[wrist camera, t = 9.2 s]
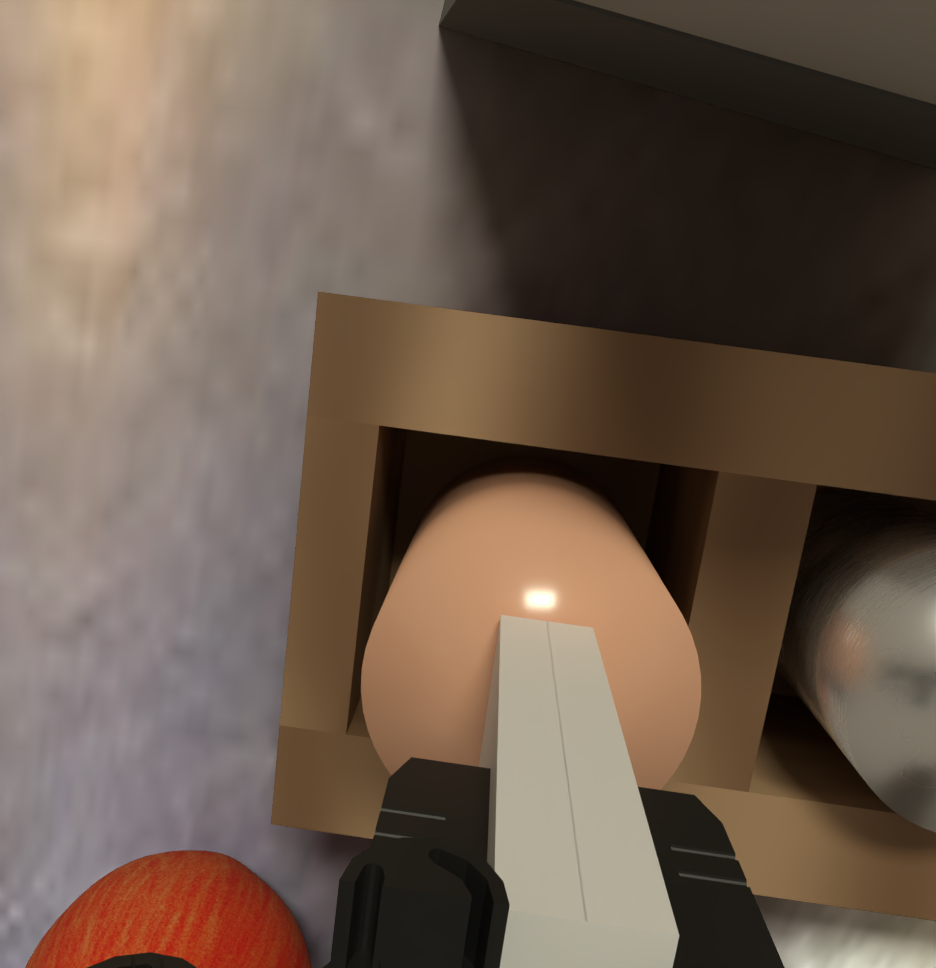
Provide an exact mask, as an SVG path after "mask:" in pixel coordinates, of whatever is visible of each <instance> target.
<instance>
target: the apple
mask: <svg viewBox="0 0 936 968" xmlns="http://www.w3.org/2000/svg"><path fill="white" fill-rule="evenodd" d="M148 952H152V953H158V954H163V955H169V956H174V957H179V958H183V959H184V960H186V961H188V962H189V963H191V964H192V965H194V966H195V967H197V968H311V963H310V959H309V954H308V950H307V947H306V944H305V941H304V938H303V935H302V932H301V930H300V928H299V926H298V924H297V922H296V920H295V918H294V917H293V915H292V913H291V912H290V910H289V909H288V907H287V906H286V905H285V903H284V902H283V901H282V899H281V898H280V897H279V896H278V895H277V894H276V893H275V892H274V891H273V890H272V889H271V888H270V887H269V886H268V885H267V884H266V883H265V882H264V881H263V880H262V879H260V878H259V877H258V876H257V875H255V874H254V873H253V872H252V871H250V870H249V869H248V868H247V867H246V866H244V865H243V864H241V863H240V862H239V861H237V860H235V859H233V858H231V857H229V856H227V855H224V854H220V853H216V852H209V851H195V850H190V851H172V852H165V853H159V854H154V855H149V856H146V857H143V858H139V859H137V860H134V861H131V862H129V863H127V864H125V865H123V866H121V867H119V868H117V869H115V870H114V871H112V872H110V873H109V874H107V875H106V876H104V877H103V878H101V879H100V880H98V881H97V882H96V883H95V884H93V885H92V886H91V887H90V888H89V889H87V890H86V891H85V892H84V893H83V894H82V895H81V896H80V897H79V898H77V899H76V900H75V901H74V902H73V903H72V904H71V905H70V906H69V908H68V909H67V910H66V911H65V912H64V913H63V914H62V915H61V916H60V917H59V918H58V919H57V921H56V922H55V923H54V924H53V926H52V927H51V928H50V929H49V930H48V932H47V933H46V934H45V936H44V937H43V938H42V940H41V941H40V943H39V944H38V946H37V948H36V949H35V951H34V953H33V954H32V956H31V958H30V959H29V961H28V963H27V965H26V968H87V967H90V966H92V965H95V964H97V963H100V962H102V961H105V960H107V959H110V958H112V957H115V956H122V955H131V954H139V953H148Z"/></svg>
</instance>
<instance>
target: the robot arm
mask: <svg viewBox="0 0 936 968" xmlns="http://www.w3.org/2000/svg"><path fill="white" fill-rule="evenodd" d="M735 856H736V854H735V851H734V849H733V847H732V844H731V842H730V840H729V837H728V835H727V833H726V830H725V828H724V826H723V823H722V822H721V821H720V820H719V819H718V818H717V817H716V816H715V815H714V814H713V813H712V812H711V811H710V810H709V809H708V808H707V807H706V806H705V805H704V804H703V803H702V802H701V801H700V800H699V799H698V798H697V797H696V796H695V795H692V794H685V793H678V792H671V791H664V790H657V789H650V788H643V787H638V786H637V783H636V779H635V776H634V772H633V768H632V765H631V761H630V758H629V754H628V750H627V747H626V743H625V740H624V736H623V733H622V729H621V725H620V722H619V718H618V715H617V711H616V708H615V704H614V700H613V697H612V693H611V690H610V686H609V683H608V679H607V675H606V672H605V668H604V665H603V661H602V658H601V654H600V650H599V647H598V643H597V640H596V636H595V633H594V629H593V628H592V627H585V626H578V625H571V624H564V623H557V622H550V621H542V620H535V619H528V618H521V617H514V616H507V615H501V616H500V623H499V630H498V637H497V644H496V650H495V657H494V664H493V671H492V678H491V685H490V692H489V699H488V705H487V712H486V719H485V726H484V733H483V740H482V747H481V753H480V760H479V767H477V766H470V765H463V764H456V763H449V762H442V761H435V760H428V759H421V758H414V757H411V758H410V759H409V760H408V761H407V762H406V763H404V764H403V765H402V766H401V767H400V768H399V769H398V770H397V771H396V772H395V773H394V774H393V775H392V776H390V777H389V779H388V783H387V787H386V791H385V795H384V798H383V802H382V806H381V811H380V814H379V818H378V821H377V825H376V829H375V835H374V837H373V841H372V844H371V847H370V848H368V849H367V850H365V851H364V852H362V853H361V854H359V855H358V856H356V857H355V858H353V859H352V860H351V862H350V863H349V865H348V867H347V868H346V870H345V872H344V873H343V875H342V877H341V878H340V880H339V889H338V898H337V907H336V916H335V926H334V935H333V944H332V953H331V961H330V962H329V963H328V964H327V965H326V966H324V967H323V968H784V966H783V963H782V961H781V959H780V956H779V954H778V952H777V949H776V947H775V945H774V942H773V940H772V938H771V935H770V933H769V931H768V928H767V926H766V924H765V921H764V919H763V917H762V914H761V912H760V910H759V907H758V905H757V903H756V900H755V898H754V896H753V893H752V891H751V889H750V887H747V879H746V877H745V875H744V872H743V870H742V868H741V865H740V863H739V861H738V860H736V859H735ZM87 968H197V967H195V966H194V965H192V964H191V963H189V962H188V961H186V960H184V959H183V958H179V957H174V956H169V955H163V954H158V953H152V952H148V953H139V954H131V955H122V956H115V957H112V958H110V959H107V960H105V961H102V962H100V963H97V964H95V965H92V966H90V967H87Z"/></svg>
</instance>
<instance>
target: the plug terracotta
mask: <svg viewBox="0 0 936 968" xmlns="http://www.w3.org/2000/svg"><path fill="white" fill-rule="evenodd" d="M501 615H507V616H514V617H521V618H528V619H535V620H542V621H550V622H557V623H564V624H571V625H578V626H585V627H592V628H593V629H594V633H595V636H596V640H597V643H598V647H599V650H600V654H601V658H602V661H603V665H604V668H605V672H606V675H607V679H608V683H609V686H610V690H611V693H612V697H613V700H614V704H615V708H616V711H617V715H618V718H619V722H620V725H621V729H622V733H623V736H624V740H625V743H626V747H627V750H628V754H629V758H630V761H631V765H632V768H633V772H634V776H635V779H636V783H637V786H638V787H643V788H650V789H657V790H661V789H662V788H663V786H664V785H665V784H666V783H667V782H668V780H669V779H670V778H671V777H672V775H673V774H674V773H675V771H676V769H677V768H678V766H679V764H680V763H681V761H682V760H683V758H684V756H685V754H686V752H687V750H688V747H689V745H690V743H691V740H692V738H693V735H694V732H695V728H696V724H697V721H698V717H699V710H700V702H701V672H700V666H699V659H698V654H697V650H696V647H695V644H694V641H693V637H692V634H691V632H690V630H689V628H688V626H687V624H686V621H685V619H684V617H683V615H682V613H681V612H680V610H679V608H678V607H677V605H676V603H675V602H674V600H673V598H672V597H671V595H670V593H669V592H668V590H667V588H666V587H665V585H664V583H663V582H662V580H661V579H660V577H659V575H658V574H657V572H656V570H655V569H654V567H653V565H652V564H651V562H650V560H649V559H648V557H647V555H646V554H645V552H644V550H643V549H642V547H641V545H640V544H639V542H638V540H637V539H636V537H635V535H634V534H633V532H632V530H631V529H630V527H629V526H628V524H627V522H626V521H625V519H624V517H623V516H622V514H621V512H620V511H619V509H618V508H617V506H616V505H615V503H614V502H613V500H612V499H611V498H610V497H609V496H608V494H607V493H606V492H605V491H604V490H603V489H602V488H601V487H600V486H599V485H598V484H596V483H595V482H594V481H593V480H592V479H590V478H589V477H587V476H586V475H584V474H583V473H581V472H580V471H578V470H576V469H574V468H572V467H570V466H568V465H565V464H563V463H560V462H557V461H554V460H550V459H545V458H540V457H530V456H514V457H504V458H499V459H494V460H490V461H487V462H484V463H481V464H478V465H476V466H474V467H472V468H470V469H468V470H466V471H464V472H463V473H461V474H460V475H458V476H457V477H455V478H453V479H452V480H451V481H450V482H449V483H448V484H446V485H445V486H444V487H443V488H442V489H441V490H440V491H439V492H438V493H437V494H436V496H435V497H434V498H433V499H432V500H431V502H430V503H429V505H428V506H427V508H426V509H425V511H424V513H423V515H422V517H421V519H420V521H419V523H418V525H417V527H416V529H415V532H414V534H413V536H412V539H411V541H410V543H409V545H408V548H407V550H406V552H405V555H404V557H403V559H402V562H401V564H400V566H399V568H398V571H397V573H396V575H395V578H394V580H393V582H392V584H391V587H390V589H389V591H388V594H387V596H386V598H385V600H384V603H383V605H382V607H381V610H380V612H379V614H378V617H377V619H376V621H375V623H374V626H373V628H372V631H371V634H370V637H369V640H368V643H367V646H366V649H365V654H364V659H363V665H362V673H361V696H362V706H363V713H364V717H365V721H366V725H367V729H368V732H369V735H370V737H371V740H372V742H373V745H374V747H375V750H376V751H377V753H378V755H379V757H380V759H381V760H382V762H383V764H384V766H385V767H386V769H387V770H388V771H389V773H390V774H391V775H393V774H394V773H395V772H396V771H397V770H398V769H399V768H400V767H401V766H402V765H403V764H404V763H406V762H407V761H408V760H409V759H410V758H411V757H414V758H421V759H428V760H435V761H442V762H449V763H456V764H463V765H470V766H477V767H479V760H480V753H481V747H482V740H483V733H484V726H485V719H486V712H487V705H488V699H489V692H490V685H491V678H492V671H493V664H494V657H495V650H496V644H497V637H498V630H499V623H500V616H501Z"/></svg>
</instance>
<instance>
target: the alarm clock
mask: <svg viewBox="0 0 936 968" xmlns="http://www.w3.org/2000/svg"><path fill="white" fill-rule="evenodd" d="M439 26H441V27H444V28H447V29H451V30H454V31H458V32H461V33H465V34H468V35H472V36H475V37H479V38H482V39H486V40H489V41H493V42H496V43H500V44H503V45H506V46H510V47H513V48H517V49H520V50H524V51H527V52H531V53H534V54H538V55H541V56H545V57H548V58H552V59H555V60H559V61H562V62H565V63H569V64H572V65H576V66H579V67H583V68H586V69H590V70H593V71H597V72H600V73H604V74H607V75H611V76H614V77H618V78H621V79H625V80H628V81H631V82H635V83H638V84H642V85H645V86H649V87H652V88H656V89H659V90H663V91H666V92H670V93H673V94H677V95H680V96H684V97H687V98H690V99H694V100H697V101H701V102H704V103H708V104H711V105H715V106H718V107H722V108H725V109H729V110H732V111H736V112H739V113H743V114H746V115H750V116H753V117H756V118H760V119H763V120H767V121H770V122H774V123H777V124H781V125H784V126H788V127H791V128H795V129H798V130H802V131H805V132H809V133H812V134H815V135H819V136H822V137H826V138H829V139H833V140H836V141H840V142H843V143H847V144H850V145H854V146H857V147H861V148H864V149H868V150H871V151H874V152H878V153H881V154H885V155H888V156H892V157H895V158H899V159H902V160H906V161H909V162H913V163H916V164H920V165H923V166H927V167H930V168H933V169H936V0H445V2H444V6H443V10H442V14H441V19H440V23H439Z"/></svg>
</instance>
